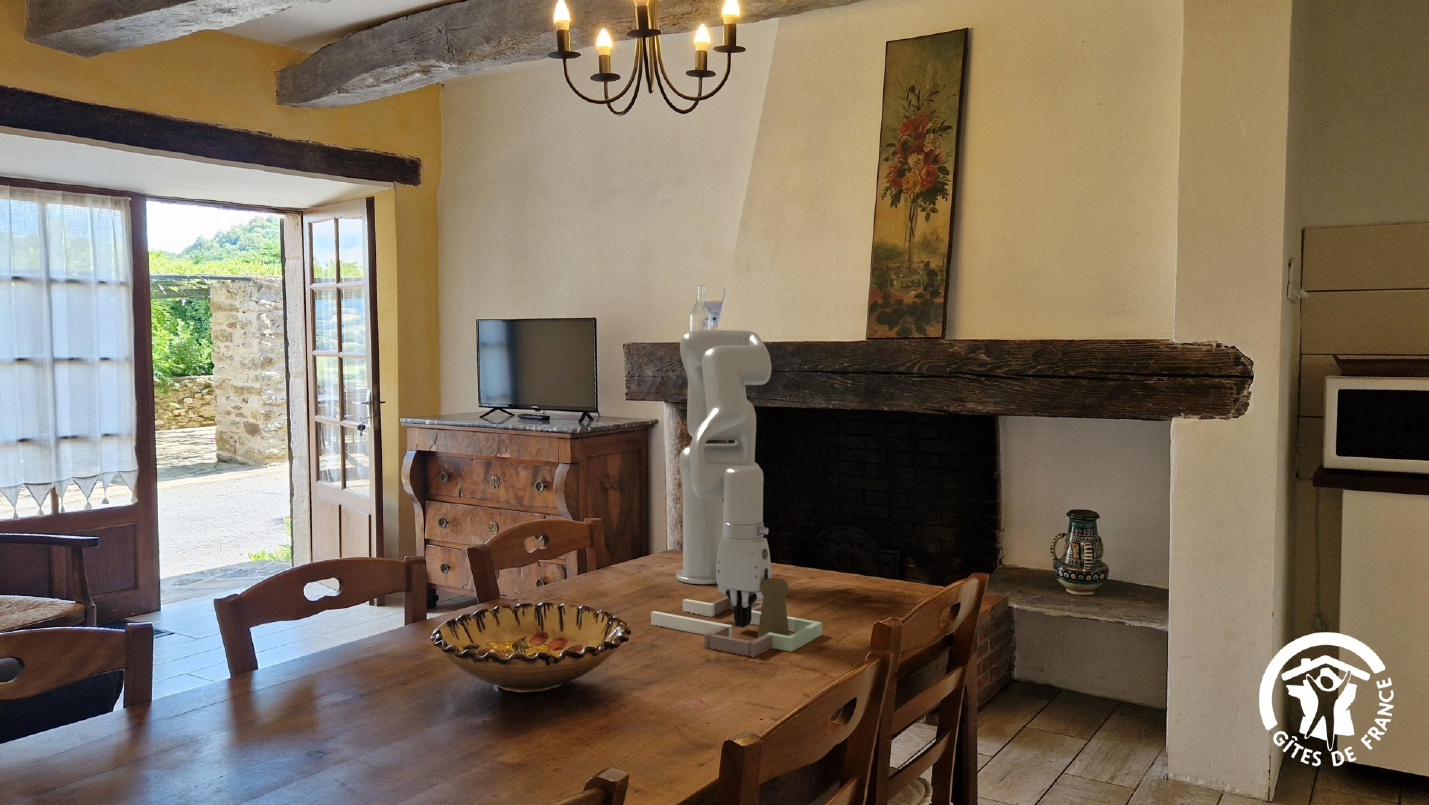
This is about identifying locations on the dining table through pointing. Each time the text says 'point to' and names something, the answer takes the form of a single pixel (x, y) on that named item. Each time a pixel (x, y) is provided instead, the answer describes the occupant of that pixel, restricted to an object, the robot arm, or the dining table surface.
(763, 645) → the trap lane
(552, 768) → the dining table surface
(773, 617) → the olive pawn
